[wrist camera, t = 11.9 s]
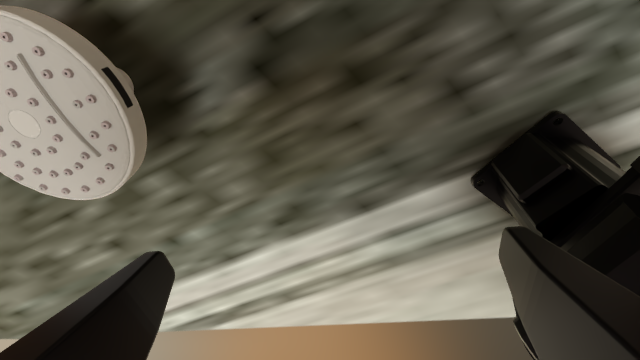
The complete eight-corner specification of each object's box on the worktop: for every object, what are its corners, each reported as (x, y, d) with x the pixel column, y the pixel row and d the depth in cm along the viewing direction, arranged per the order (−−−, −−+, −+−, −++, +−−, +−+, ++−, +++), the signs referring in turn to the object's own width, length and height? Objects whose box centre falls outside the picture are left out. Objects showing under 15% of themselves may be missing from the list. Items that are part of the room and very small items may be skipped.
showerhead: (-171, 61, 13) (-2, -35, 10) (-2, 34, 19) (129, -29, 16) (14, 228, 17) (161, 190, 15) (102, 164, 23) (215, 129, 21)
